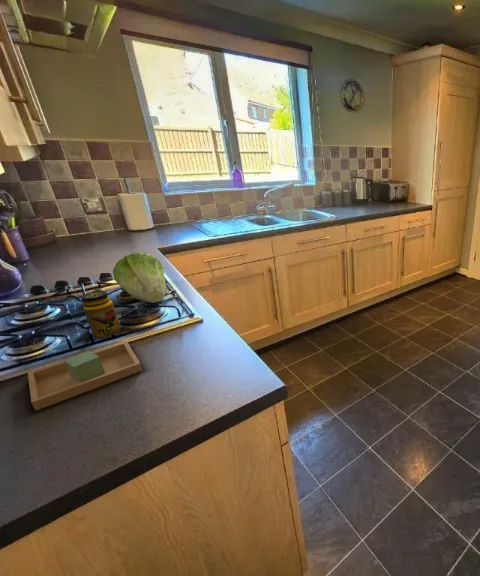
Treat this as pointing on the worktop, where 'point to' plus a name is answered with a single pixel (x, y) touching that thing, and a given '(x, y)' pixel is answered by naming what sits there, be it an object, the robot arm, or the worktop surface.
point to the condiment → (101, 314)
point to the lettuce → (141, 277)
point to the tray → (60, 385)
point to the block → (84, 366)
